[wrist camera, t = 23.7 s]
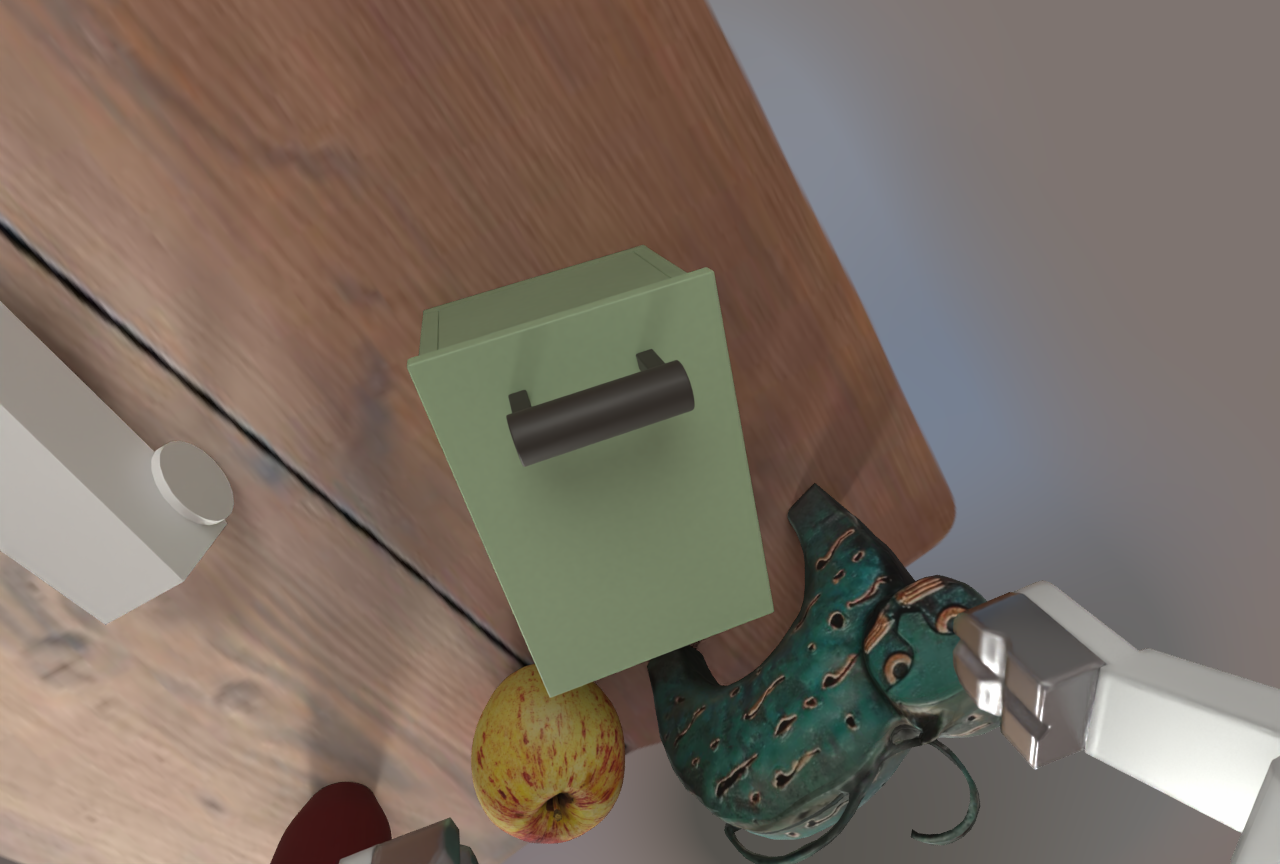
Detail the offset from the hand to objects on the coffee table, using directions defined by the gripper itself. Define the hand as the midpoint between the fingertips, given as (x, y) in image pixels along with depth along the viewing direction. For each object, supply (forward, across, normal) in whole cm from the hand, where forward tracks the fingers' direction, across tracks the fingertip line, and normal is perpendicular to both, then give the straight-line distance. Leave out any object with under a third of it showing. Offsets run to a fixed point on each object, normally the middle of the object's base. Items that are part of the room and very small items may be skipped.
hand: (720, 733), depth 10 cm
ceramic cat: (+27, -9, +24) cm, 37 cm away
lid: (+17, -1, +7) cm, 19 cm away
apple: (+27, +7, +26) cm, 38 cm away
